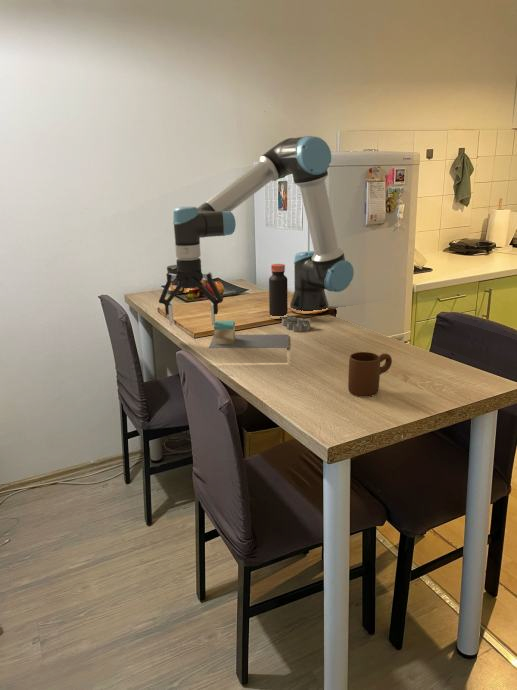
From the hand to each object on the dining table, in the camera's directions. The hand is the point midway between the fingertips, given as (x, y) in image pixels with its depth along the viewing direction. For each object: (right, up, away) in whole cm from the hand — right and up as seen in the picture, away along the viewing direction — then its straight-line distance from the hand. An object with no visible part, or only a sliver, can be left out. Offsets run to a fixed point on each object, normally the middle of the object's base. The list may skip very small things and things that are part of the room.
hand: (192, 324), depth 175 cm
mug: (+50, -18, -37) cm, 65 cm away
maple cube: (+10, -5, +1) cm, 12 cm away
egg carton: (+34, -1, +17) cm, 38 cm away
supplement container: (-15, +17, +74) cm, 78 cm away
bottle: (+29, +3, +29) cm, 41 cm away
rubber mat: (+18, -6, +1) cm, 19 cm away
